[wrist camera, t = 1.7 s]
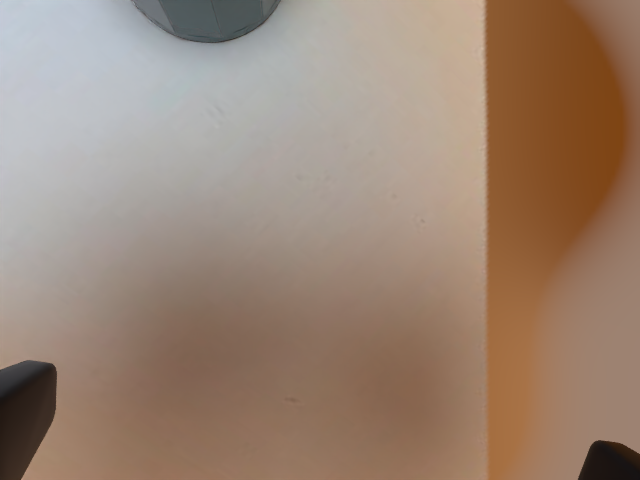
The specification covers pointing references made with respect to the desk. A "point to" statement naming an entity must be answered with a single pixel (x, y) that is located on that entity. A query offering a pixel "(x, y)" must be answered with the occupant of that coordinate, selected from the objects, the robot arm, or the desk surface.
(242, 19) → the teal cup
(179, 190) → the desk surface
